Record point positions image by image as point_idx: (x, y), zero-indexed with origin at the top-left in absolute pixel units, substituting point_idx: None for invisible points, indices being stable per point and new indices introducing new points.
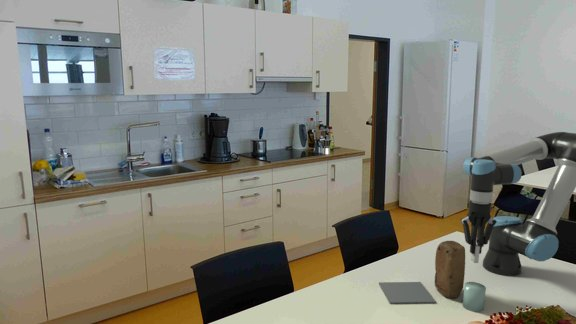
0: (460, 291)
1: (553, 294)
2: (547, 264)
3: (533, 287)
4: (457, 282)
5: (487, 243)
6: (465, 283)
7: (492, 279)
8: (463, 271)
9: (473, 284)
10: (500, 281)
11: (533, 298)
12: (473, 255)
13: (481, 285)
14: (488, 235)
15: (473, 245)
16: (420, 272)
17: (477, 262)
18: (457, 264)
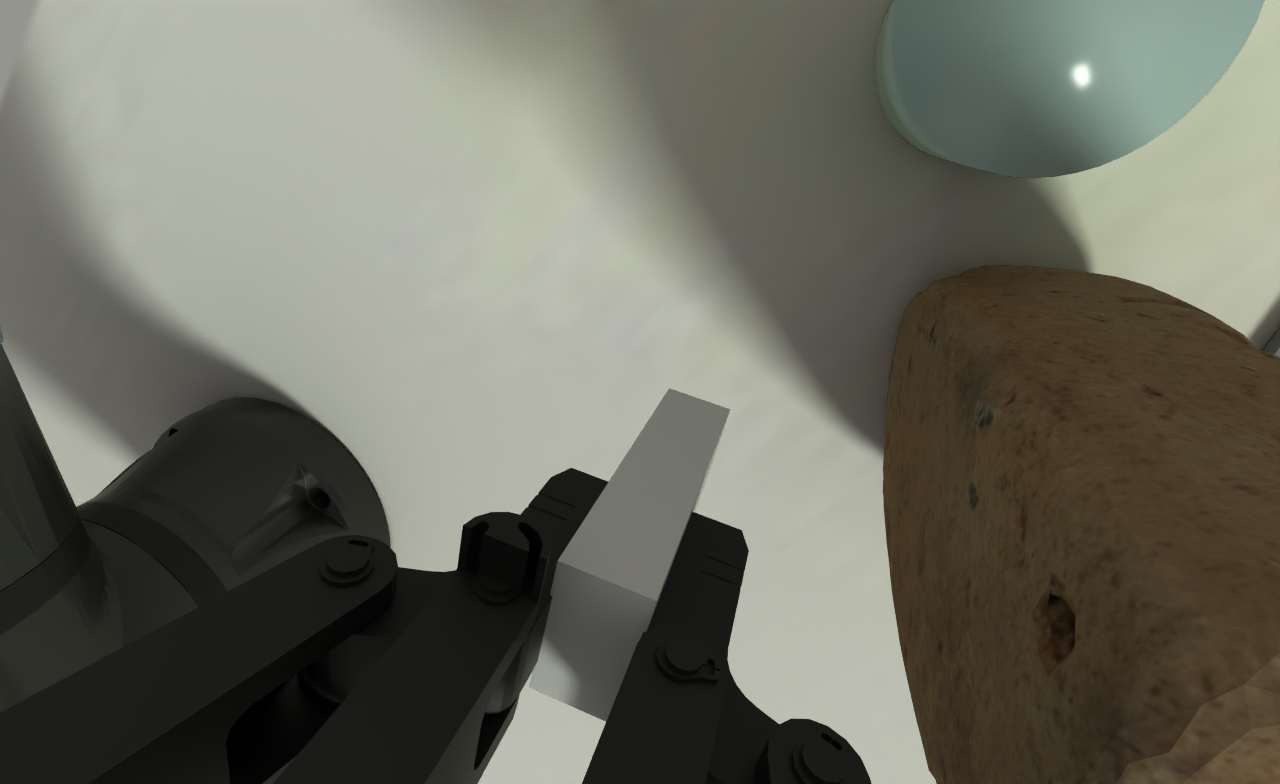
0: (968, 272)
1: (147, 61)
2: None
3: (227, 209)
4: (1080, 295)
5: (321, 542)
6: (1125, 147)
7: (436, 417)
8: (1024, 334)
9: (1033, 74)
10: (399, 371)
11: (320, 44)
12: (693, 510)
13: (937, 6)
14: (50, 750)
15: (714, 656)
16: (893, 717)
17: (679, 396)
18: (1260, 410)
